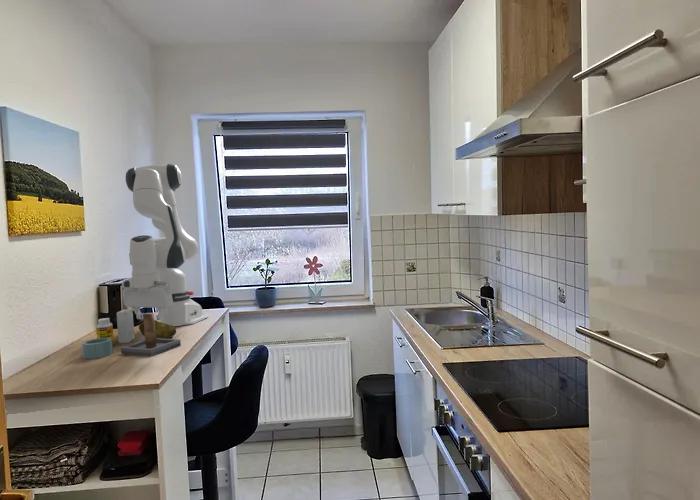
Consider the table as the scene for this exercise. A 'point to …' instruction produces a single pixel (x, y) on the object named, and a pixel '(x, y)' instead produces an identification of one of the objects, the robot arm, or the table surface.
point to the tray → (141, 348)
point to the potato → (160, 330)
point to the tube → (97, 348)
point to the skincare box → (125, 326)
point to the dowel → (149, 330)
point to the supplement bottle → (105, 329)
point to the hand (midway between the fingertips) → (150, 319)
